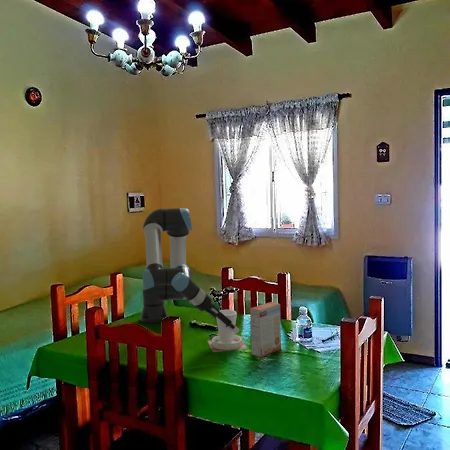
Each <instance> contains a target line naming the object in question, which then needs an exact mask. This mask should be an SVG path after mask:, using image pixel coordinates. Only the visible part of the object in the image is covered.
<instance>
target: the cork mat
mask: <svg viewBox="0 0 450 450" xmlns="http://www.w3.org/2000/svg"><path fill="white" fill-rule="evenodd" d="M206 341H207V343H208V345H209V347H210V349H211V351H212V353H219V352H220V353H221V352H230V351H241V350H249V347H247V345H246V344H245V343H244V341H243V340H242V345H241V347H239V348H236V349H231V350H222V349H217V348H214V347H213V346H212V339H207V340H206Z"/></svg>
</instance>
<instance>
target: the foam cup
mask: <svg viewBox="0 0 450 450" xmlns="http://www.w3.org/2000/svg"><path fill="white" fill-rule="evenodd" d="M219 311H220V312H221V313H222V314H224V315H225V316H226V317H227V318H228V319H229V320H231V321H232V323H233V324H234V325H235V326H236V324H237V323H236V322H237V321H236V320H237V311H235V310H233V309H222V310H219ZM215 320H216V324H217V325H216V326H217V331H218V335H219V338H220V341H221V342H225V343H229V342H232V341H233V340H234V335H235V333H234V332H233V331H232V330H231V329H229V328H228V327H226V324H224V323H223V322H222V321H221V320H220V319H218V318H217V317H216V319H215Z"/></svg>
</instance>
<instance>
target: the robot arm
mask: <svg viewBox="0 0 450 450" xmlns="http://www.w3.org/2000/svg"><path fill="white" fill-rule="evenodd" d="M192 230H193V226H192V219H191V214H190V210H189V209H188V208H186V207H185V208H183V207H182V208H181V207H179V208H158V209H155V210H153V211H151V213H149V214H148V216H147V217H145V220H144V221H143V225H142V232H143V235H144V236H145V260H146V263H145V264H146V265H145V266H146V269H143V270H142V287H141V288H142V306H143V307H142V310H141V314H140V322H141V323H145V324H158V323H159V324H160V323H162V322H161V321H162V319H163V318H165V317H168V318H169V314H168V311H167V308H166V306H165V305H166V304H165V301H174V300H176V301H177V300H178V301H179V300H187V301H189V302H188V304H192V305H193V306H194V307H195V308H196V309H197V310H199V312H204V311H205V312H206V313H208V314H209V315H210V316H211V317H212V318H214V320H217V319H216V317H217V318H218V319H220V320H221V321H222V322H223V323H224V324H226V327H228V328H229V329H231V330H232V331H233V332H234V335H237V334H238V333H239V332H240V330H241V329H240V328H239V327H237V325H236V324H235V325H234V324H233V323H232V321H231V320H229V319H228V318H227V317H226V316H225V315H224V314H222V313H221V312H220V310H219V309H218V308H217V307H216V306H215V305H214V304H212V302H213V301H212V299H213V298H212V297H211V296H210V295H208V294H207V293H206V292H205V291H204V290H203V289H202V288H201V287H200V286H198V285H197V283H195V282H194V279H193V276H192V275H193V274H192V271H191V269H190V267H189V266H188V265H187V236H189V234H190V231H192ZM163 232H166V235H167V236H168V237H169V257H170V258H169V262H170V263H169V264H170V265H169V266H170V267H169V268H168V267H167V268H166V267H165V268H164V264H163V263H164V262H163V248H162V236H161V235H162V233H163Z"/></svg>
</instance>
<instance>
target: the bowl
mask: <svg viewBox="0 0 450 450" xmlns="http://www.w3.org/2000/svg"><path fill="white" fill-rule="evenodd" d="M211 340H212V346H213V347H214V348H217V349H222V350H231V349H236V348H239V347H241V345H242V341H243V338H242V337H241V336H239V335H237V334H234V340H233V341H232V342H229V343H225V342H221V341H220V338H219V334H218V335H215V336H214V337H212V338H211Z"/></svg>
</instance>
